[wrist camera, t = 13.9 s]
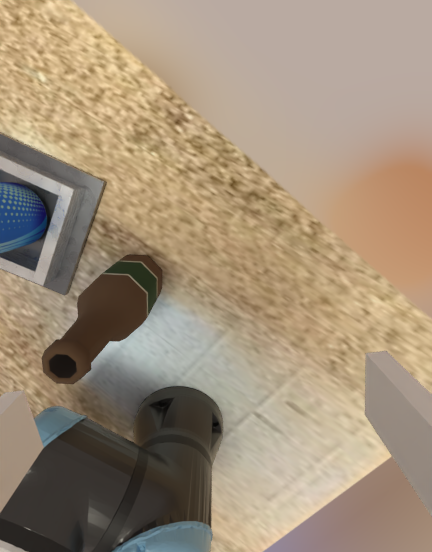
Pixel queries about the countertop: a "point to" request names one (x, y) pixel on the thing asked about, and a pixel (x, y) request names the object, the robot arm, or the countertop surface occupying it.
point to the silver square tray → (50, 214)
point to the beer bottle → (104, 316)
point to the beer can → (20, 216)
